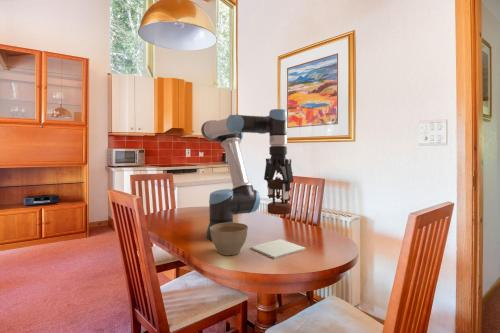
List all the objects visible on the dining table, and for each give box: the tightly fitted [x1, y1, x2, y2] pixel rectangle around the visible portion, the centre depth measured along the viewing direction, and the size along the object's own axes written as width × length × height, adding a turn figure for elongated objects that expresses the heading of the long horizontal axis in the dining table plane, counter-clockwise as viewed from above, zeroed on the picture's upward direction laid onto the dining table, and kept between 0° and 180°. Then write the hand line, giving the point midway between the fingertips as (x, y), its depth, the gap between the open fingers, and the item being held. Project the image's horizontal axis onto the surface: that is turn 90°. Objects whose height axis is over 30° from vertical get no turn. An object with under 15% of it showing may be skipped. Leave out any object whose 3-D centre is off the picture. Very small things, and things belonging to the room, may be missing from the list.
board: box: [250, 238, 307, 259], centre depth 131 cm, size 16×18×1 cm
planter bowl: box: [210, 222, 249, 256], centre depth 127 cm, size 16×16×11 cm
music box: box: [266, 167, 292, 216], centre depth 129 cm, size 15×11×20 cm
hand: (278, 197), depth 130 cm, fingers closed on music box, 9 cm apart
